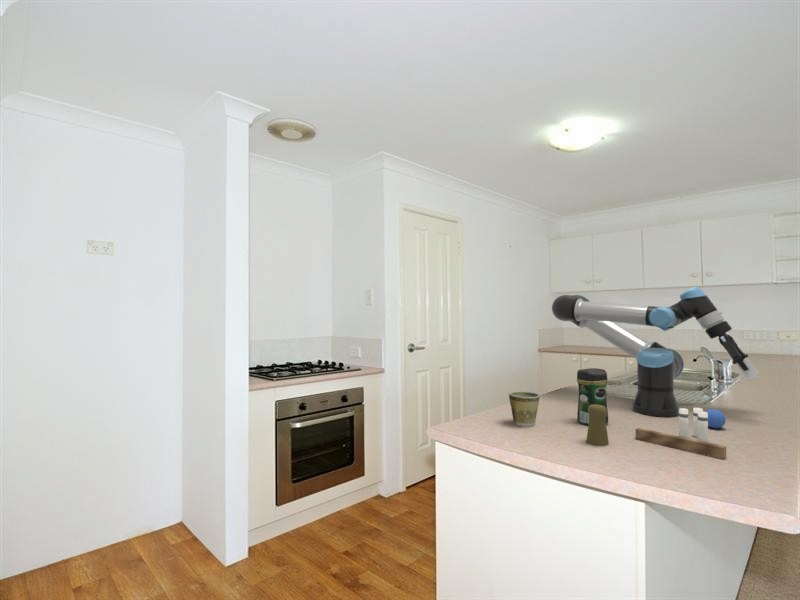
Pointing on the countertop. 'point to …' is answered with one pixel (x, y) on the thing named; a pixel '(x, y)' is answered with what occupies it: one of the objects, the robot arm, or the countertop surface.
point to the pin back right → (702, 426)
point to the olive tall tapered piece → (597, 426)
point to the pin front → (695, 421)
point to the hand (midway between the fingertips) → (754, 377)
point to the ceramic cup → (524, 407)
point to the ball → (715, 418)
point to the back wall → (681, 443)
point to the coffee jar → (591, 392)
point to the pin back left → (683, 422)
